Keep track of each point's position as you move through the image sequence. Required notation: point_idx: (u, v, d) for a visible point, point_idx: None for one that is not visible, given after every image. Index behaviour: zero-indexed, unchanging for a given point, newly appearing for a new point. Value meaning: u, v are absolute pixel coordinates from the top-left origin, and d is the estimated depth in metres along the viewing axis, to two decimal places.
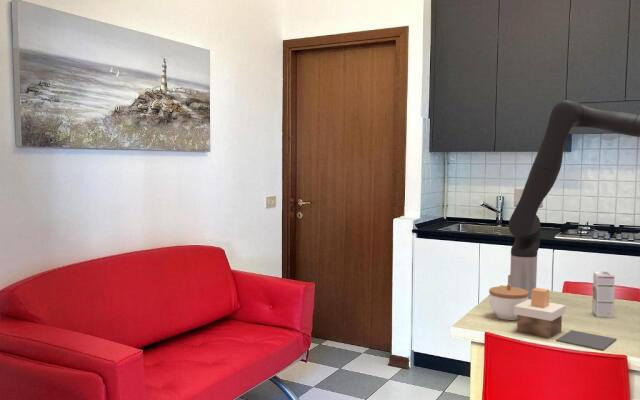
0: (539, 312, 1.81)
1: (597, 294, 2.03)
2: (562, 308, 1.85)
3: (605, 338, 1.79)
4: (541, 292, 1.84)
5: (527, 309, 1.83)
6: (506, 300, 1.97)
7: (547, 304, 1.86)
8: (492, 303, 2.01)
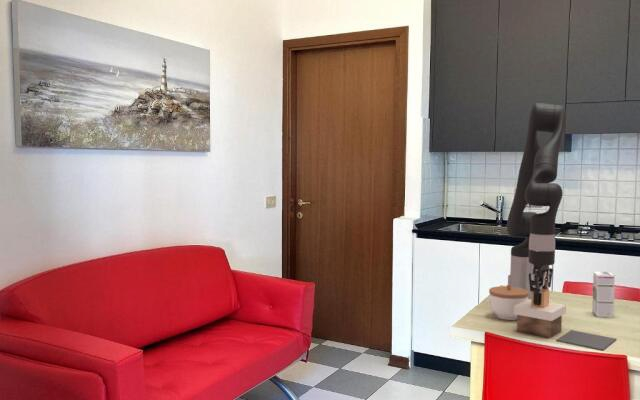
0: (539, 312, 1.81)
1: (597, 294, 2.03)
2: (562, 308, 1.85)
3: (605, 338, 1.79)
4: None
5: (527, 309, 1.83)
6: (506, 300, 1.97)
7: (547, 304, 1.86)
8: (492, 303, 2.01)
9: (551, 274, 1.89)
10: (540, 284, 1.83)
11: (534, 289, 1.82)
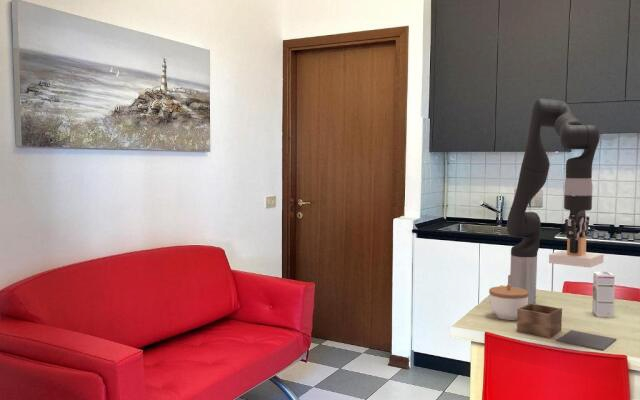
0: (576, 259, 1.72)
1: (597, 294, 2.03)
2: (600, 256, 1.76)
3: (605, 338, 1.79)
4: (578, 239, 1.76)
5: (563, 257, 1.75)
6: (506, 300, 1.97)
7: (584, 252, 1.77)
8: (492, 303, 2.01)
9: (587, 222, 1.81)
10: (577, 230, 1.75)
11: (570, 236, 1.74)
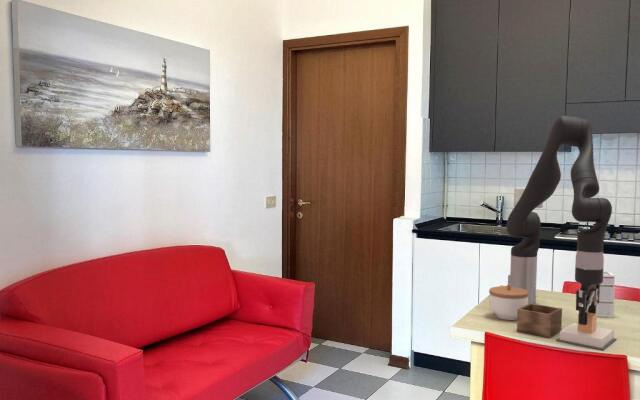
0: (588, 338, 1.72)
1: None
2: (610, 333, 1.76)
3: None
4: (589, 317, 1.75)
5: (574, 335, 1.75)
6: (506, 300, 1.97)
7: (595, 329, 1.77)
8: (492, 303, 2.01)
9: (599, 290, 1.81)
10: (587, 302, 1.74)
11: (580, 308, 1.72)
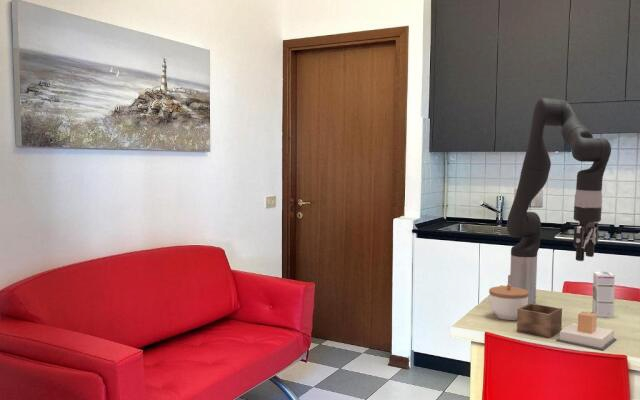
0: (588, 338, 1.72)
1: (597, 294, 2.03)
2: (610, 333, 1.76)
3: None
4: (589, 317, 1.75)
5: (574, 335, 1.75)
6: (506, 300, 1.97)
7: (595, 329, 1.77)
8: (492, 303, 2.01)
9: (597, 228, 1.85)
10: (584, 239, 1.78)
11: (577, 244, 1.77)
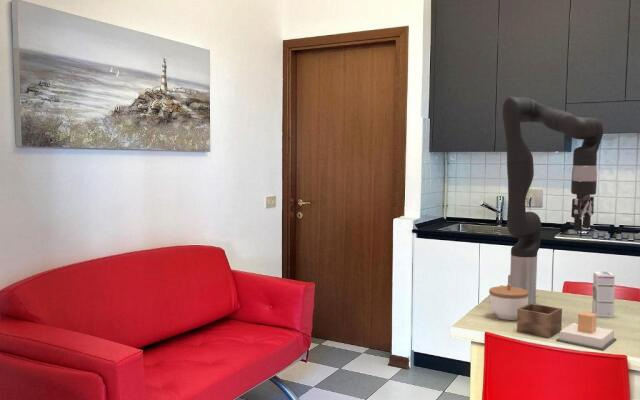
0: (588, 338, 1.72)
1: (597, 294, 2.03)
2: (610, 333, 1.76)
3: None
4: (589, 317, 1.75)
5: (574, 335, 1.75)
6: (506, 300, 1.97)
7: (595, 329, 1.77)
8: (492, 303, 2.01)
9: (593, 202, 2.01)
10: (582, 210, 1.93)
11: (575, 215, 1.92)
